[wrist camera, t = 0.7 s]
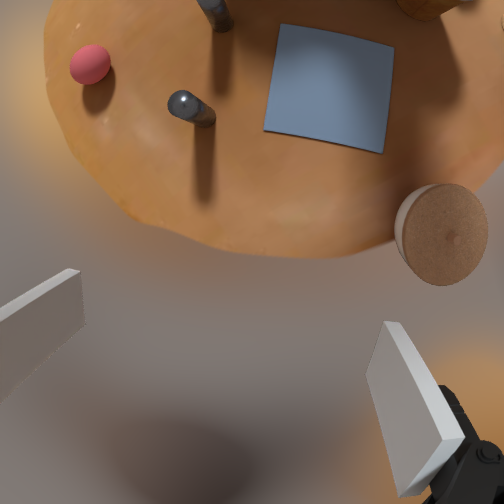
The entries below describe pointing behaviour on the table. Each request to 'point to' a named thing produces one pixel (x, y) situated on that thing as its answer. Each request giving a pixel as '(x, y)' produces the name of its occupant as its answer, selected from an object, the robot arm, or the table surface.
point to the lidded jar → (441, 232)
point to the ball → (90, 64)
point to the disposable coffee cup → (427, 7)
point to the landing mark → (330, 87)
